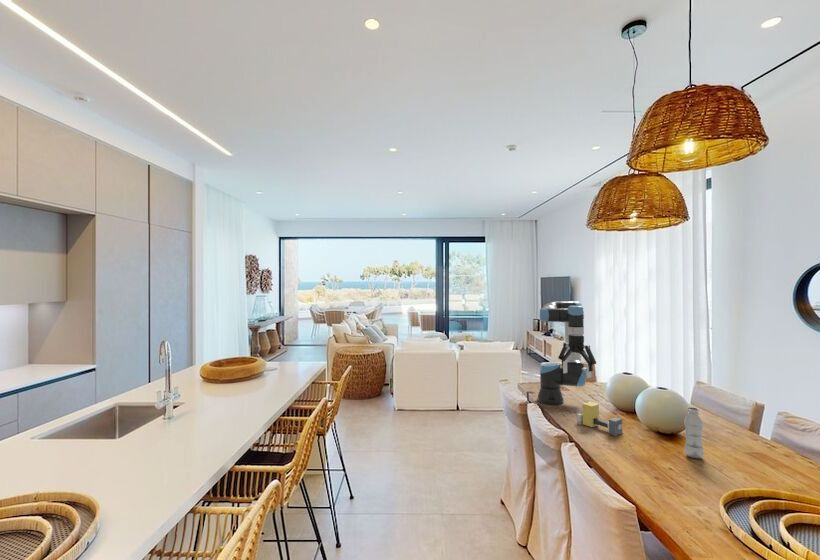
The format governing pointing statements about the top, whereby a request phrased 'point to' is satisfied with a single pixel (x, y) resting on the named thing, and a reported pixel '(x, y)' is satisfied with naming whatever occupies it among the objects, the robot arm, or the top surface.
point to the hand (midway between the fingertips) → (576, 375)
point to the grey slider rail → (606, 424)
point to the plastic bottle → (693, 434)
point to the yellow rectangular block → (590, 413)
